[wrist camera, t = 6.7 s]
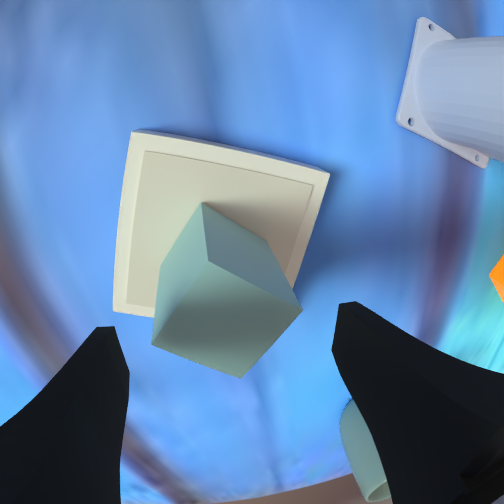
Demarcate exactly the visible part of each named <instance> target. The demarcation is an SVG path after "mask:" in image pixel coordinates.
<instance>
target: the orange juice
mask: <svg viewBox="0 0 504 504" xmlns="http://www.w3.org/2000/svg"><path fill="white" fill-rule="evenodd" d="M489 276H490V278H491V280H492V282H493V283H494V285H495V287H496V289H497V291H498V293H499V295H500V297H501V299H502V301H503V303H504V255H503V256H502V258H501V259H500V261H499V262H498V263H497V265H496V266H495V268H494V269H493V270H492V272H491V273H490V274H489Z"/></svg>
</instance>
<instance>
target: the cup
mask: <svg viewBox="0 0 504 504" xmlns="http://www.w3.org/2000/svg"><path fill="white" fill-rule="evenodd" d="M339 424H340V437H341V441H342V445H343V448H344V451H345V454H346V457H347V460H348V462H349V465H350V467H351V470H352V472H353V474H354V477H355V479H356V481H357V484H358V486H359V488H360V491H361V493H362V495H363V497H364V498H365V500H366V501H367V502H378V501H382V500H385V499H387V498H390V497H391V494H390V490H389V486H388V483H387V479H386V476H385V473H384V469H383V466H382V463H381V460H380V457H379V454H378V452H377V449H376V446H375V443H374V441H373V438H372V435H371V433H370V431H369V429H368V427H367V424H366V423H365V421H364V419H363V417H362V415H361V413H360V411H359V409H358V407H357V406H356V404H355V402H354V400H353V399H352V400H351V401H350V402H349V403H348V404H347V406H346V407H345V408H344V410H343V412H342V415H341V418H340V423H339Z"/></svg>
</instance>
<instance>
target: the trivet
mask: <svg viewBox="0 0 504 504" xmlns="http://www.w3.org/2000/svg"><path fill="white" fill-rule="evenodd" d="M329 176H330V174H329V173H328V172H326V171H324V170H322V169H320V168H318V167H316V166H312V165H309V164H305V163H301V162H298V161H294V160H290V159H286V158H282V157H278V156H274V155H270V154H266V153H262V152H257V151H253V150H249V149H244V148H240V147H235V146H230V145H226V144H221V143H216V142H211V141H206V140H201V139H196V138H190V137H185V136H179V135H173V134H168V133H162V132H155V131H149V130H142V129H137V130H135V131H132V132H131V137H130V143H129V148H128V154H127V160H126V167H125V173H124V180H123V187H122V195H121V203H120V211H119V220H118V230H117V241H116V254H115V269H114V288H113V311H115V312H121V313H127V314H133V315H140V316H146V317H153V318H154V314H155V305H156V296H157V288H158V280H159V272H160V266H161V264H162V262H163V261H164V259H165V258H166V256H167V254H168V253H169V251H170V249H171V248H172V246H173V245H174V243H175V242H176V240H177V238H178V237H179V235H180V234H181V232H182V230H183V229H184V227H185V226H186V224H187V223H188V221H189V220H190V218H191V216H192V215H193V213H194V212H195V210H196V209H197V207H198V206H199V204H200V203H201V202H202V203H203V204H205V205H207V206H209V207H210V208H212V209H214V210H215V211H217V212H219V213H220V214H222V215H224V216H225V217H227V218H229V219H230V220H232V221H234V222H235V223H237V224H239V225H241V226H242V227H244V228H246V229H247V230H249V231H251V232H252V233H254V234H256V235H257V236H259V237H261V238H262V239H264V240H266V241H267V242H268V244H269V246H270V248H271V250H272V252H273V254H274V256H275V257H276V259H277V261H278V263H279V265H280V267H281V269H282V271H283V273H284V275H285V276H286V278H287V280H288V282H289V284H290V286H291V288H292V289H293V286H294V284H295V281H296V278H297V275H298V272H299V269H300V266H301V263H302V260H303V257H304V254H305V251H306V248H307V245H308V242H309V239H310V236H311V233H312V230H313V227H314V224H315V221H316V218H317V215H318V212H319V209H320V205H321V202H322V199H323V196H324V193H325V189H326V186H327V183H328V180H329Z"/></svg>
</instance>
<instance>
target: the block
mask: <svg viewBox="0 0 504 504" xmlns="http://www.w3.org/2000/svg"><path fill="white" fill-rule="evenodd" d="M302 311H303V309H302V307H301V305H300V303H299V301H298V299H297V297H296V296H295V294H294V292H293V290H292V288H291V286H290V284H289V282H288V280H287V278H286V276H285V275H284V273H283V271H282V269H281V267H280V265H279V263H278V261H277V259H276V257H275V256H274V254H273V252H272V250H271V248H270V246H269V244H268V242H267V241H266V240H264V239H262V238H261V237H259V236H257V235H256V234H254V233H252V232H251V231H249V230H247V229H246V228H244V227H242V226H241V225H239V224H237V223H235V222H234V221H232V220H230V219H229V218H227V217H225V216H224V215H222V214H220V213H219V212H217V211H215V210H214V209H212V208H210V207H209V206H207V205H205V204H203V203H202V202H201V203H200V204H199V206H198V207H197V209H196V210H195V212H194V213H193V215H192V216H191V218H190V220H189V221H188V223H187V224H186V226H185V227H184V229H183V230H182V232H181V234H180V235H179V237H178V238H177V240H176V242H175V243H174V245H173V246H172V248H171V249H170V251H169V253H168V254H167V256H166V258H165V259H164V261H163V262H162V264H161V266H160V272H159V280H158V288H157V296H156V305H155V314H154V324H153V334H152V345H154V346H156V347H158V348H161V349H163V350H166V351H168V352H170V353H173V354H175V355H178V356H180V357H183V358H186V359H188V360H191V361H193V362H196V363H199V364H201V365H204V366H207V367H209V368H212V369H215V370H218V371H220V372H223V373H226V374H229V375H232V376H235V377H238V378H242V377H243V376H244V375H245V374H246V373H247V372H248V371H249V370H250V369H251V367H252V366H253V365H254V364H255V363H256V362H257V361H258V360H259V359H260V358H261V357H262V356H263V355H264V353H265V352H266V351H267V350H268V349H269V348H270V347H271V346H272V345H273V344H274V342H275V341H276V340H277V339H278V338H279V337H280V336H281V335H282V334H283V332H284V331H285V330H286V329H287V328H288V327H289V326H290V325H291V323H292V322H293V321H294V320H295V319H296V318H297V317H298V315H299V314H300V313H301V312H302Z"/></svg>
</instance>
